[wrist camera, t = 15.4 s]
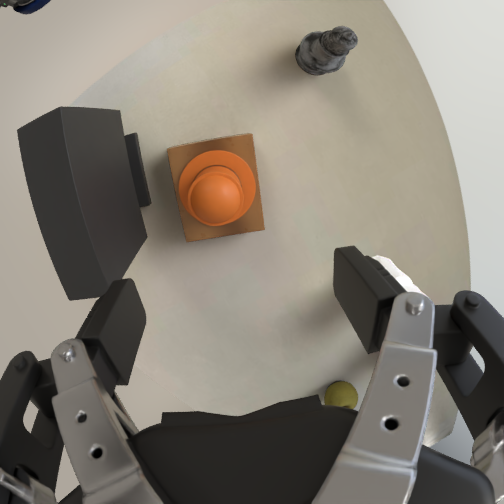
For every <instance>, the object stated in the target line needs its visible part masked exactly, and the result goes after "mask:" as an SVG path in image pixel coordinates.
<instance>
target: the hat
mask: <svg viewBox="0 0 504 504" xmlns="http://www.w3.org/2000/svg"><path fill="white" fill-rule="evenodd" d="M255 191H256V184H255V178H254V175H253V173H252V171H251V169H250V167H249V166H248V164H247V163H246V162H245V161H244V160H243V159H241V158H240V157H239V156H237V155H235V154H233V153H231V152H227V151H222V150H213V151H208V152H205V153H202V154H200V155H198V156H196V157H195V158H194V159H192V160H191V161H190V162H189V163H188V164H187V166H186V167H185V168H184V170H183V172H182V174H181V177H180V181H179V195H180V199H181V202H182V204H183V206H184V208H185V209H186V210H187V212H188V213H189V214H190V215H191V216H192V217H194V218H195V219H197V220H198V221H200V222H201V223H203V224H206V225H210V226H221V225H225V224H228V223H231V222H233V221H235V220H237V219H239V218H240V217H242V216H243V215H244V214H245V213H246V212H247V211H248V209H249V208H250V206H251V204H252V202H253V200H254V197H255Z"/></svg>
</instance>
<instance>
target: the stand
mask: <svg viewBox="0 0 504 504" xmlns="http://www.w3.org/2000/svg"><path fill="white" fill-rule="evenodd" d="M213 150H222V151H227V152H231V153H233V154H235V155H237V156H239V157H240V158H241V159H243V160H244V161H245V162H246V163H247V164H248V166H249V167H250V169H251V171H252V173H253V175H254V178H255V184H256V191H255V197H254V200H253V202H252V204H251V206H250V208H249V209H248V211H247V212H246V213H245V214H244V215H243V216H242V217H240V218H239V219H237V220H235V221H233V222H231V223H228V224H225V225H221V226H210V225H206V224H203V223H201V222H200V221H198V220H197V219H195V218H194V217H192V216H191V215H190V214H189V213H188V212H187V210H186V209H185V208H184V206H183V204H182V202H181V199H180V195H179V181H180V177H181V174H182V172H183V170H184V168H185V167H186V166H187V164H188V163H189V162H190V161H191V160H192V159H194V158H195V157H196V156H198V155H200V154H202V153H205V152H208V151H213ZM167 153H168V158H169V163H170V169H171V174H172V179H173V184H174V188H175V193H176V198H177V203H178V207H179V212H180V216H181V221H182V225H183V229H184V233H185V238H186V242H191V241H197V240H203V239H209V238H216V237H222V236H228V235H234V234H241V233H247V232H254V231H260V230H265V228H264V220H263V212H262V204H261V196H260V188H259V180H258V172H257V165H256V157H255V150H254V142H253V135H252V134H250V133H247V134H240V135H233V136H226V137H220V138H214V139H208V140H203V141H197V142H192V143H187V144H182V145H177V146H173V147H170V148H168V149H167Z"/></svg>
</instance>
